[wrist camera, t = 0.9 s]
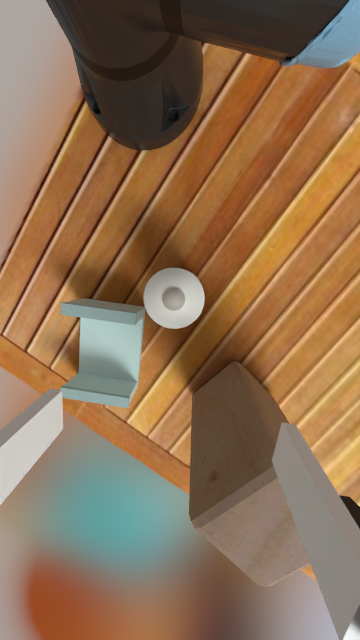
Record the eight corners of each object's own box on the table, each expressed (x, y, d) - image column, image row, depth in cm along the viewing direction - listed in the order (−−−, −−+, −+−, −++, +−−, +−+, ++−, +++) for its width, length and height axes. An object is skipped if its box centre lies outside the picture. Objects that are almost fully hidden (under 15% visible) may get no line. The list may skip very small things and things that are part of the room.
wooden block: (189, 393, 37) (183, 526, 18) (235, 356, 35) (283, 459, 16) (229, 432, 38) (264, 598, 19) (275, 398, 36) (367, 543, 17)
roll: (159, 266, 33) (146, 263, 24) (205, 272, 33) (209, 272, 24) (154, 311, 35) (140, 324, 26) (198, 317, 34) (199, 333, 25)
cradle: (83, 297, 35) (61, 302, 29) (146, 306, 35) (136, 313, 29) (80, 378, 38) (60, 397, 32) (138, 387, 38) (127, 408, 32)
